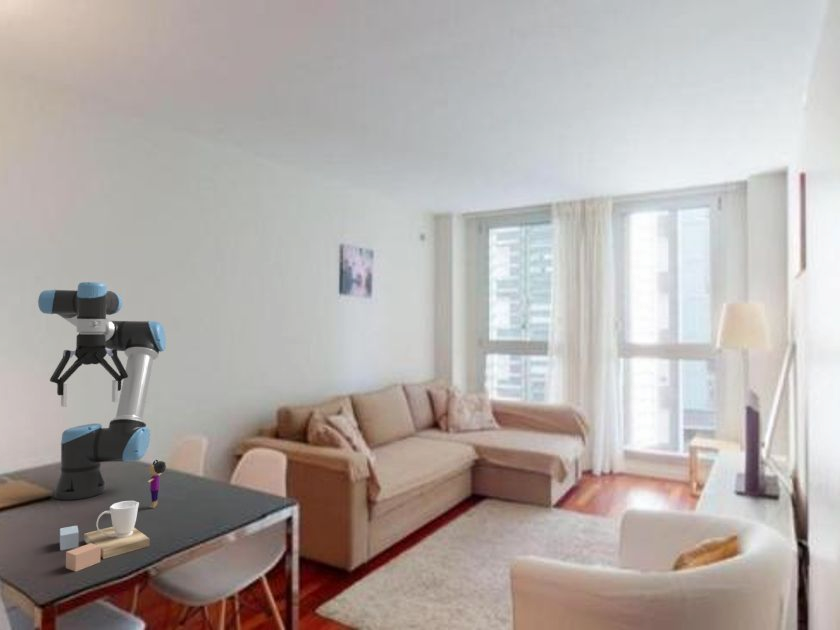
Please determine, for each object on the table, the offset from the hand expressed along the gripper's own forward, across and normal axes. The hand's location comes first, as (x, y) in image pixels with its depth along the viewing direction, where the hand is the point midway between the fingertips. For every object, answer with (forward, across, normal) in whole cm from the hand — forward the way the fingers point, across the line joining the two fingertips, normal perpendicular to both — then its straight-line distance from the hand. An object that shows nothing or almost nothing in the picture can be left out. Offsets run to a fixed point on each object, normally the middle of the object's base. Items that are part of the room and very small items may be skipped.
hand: (89, 404), depth 163 cm
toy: (+35, +19, -3) cm, 40 cm away
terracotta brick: (+35, -10, -33) cm, 49 cm away
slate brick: (+35, -9, -17) cm, 40 cm away
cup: (+33, 0, -25) cm, 41 cm away
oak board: (+35, 0, -25) cm, 43 cm away
